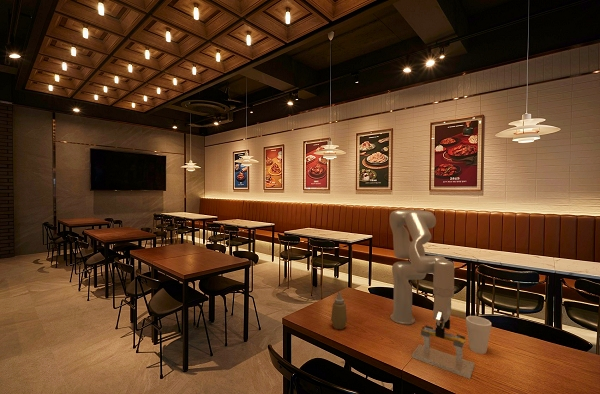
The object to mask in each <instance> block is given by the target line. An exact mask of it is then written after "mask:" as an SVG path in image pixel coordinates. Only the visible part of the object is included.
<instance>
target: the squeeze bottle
mask: <svg viewBox="0 0 600 394" xmlns="http://www.w3.org/2000/svg"><path fill="white" fill-rule="evenodd" d="M330 320H331V322H332V323H331V324H332V326H333V328H334V329H336V330H344V329H345V328H346V324H347V323H348V316H347V307H346V303H345V299H344V298H343V297H342V293H341V291H338V292H337V297H335V298H334V302H333V303H332V310H331V319H330Z"/></svg>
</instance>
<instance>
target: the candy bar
mask: <svg viewBox="0 0 600 394" xmlns="http://www.w3.org/2000/svg"><path fill="white" fill-rule="evenodd" d="M425 326H426V325H424V326H421V328H420V332H421V331H425V332H428V333H429V335H431V336H433V337H436V336H435V329H434V328H433V329H430V328H425ZM436 338H439V339H442V340H446V341H449V342H453V341H458V342H461V343H465V344H466V341H467V340H468V338H467V339H466V338H465V339H462V338H460V337H458V336H457V335H453V334H451V333H447V332H445V338H444V339H443V338H440V337H436Z"/></svg>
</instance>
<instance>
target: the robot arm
mask: <svg viewBox="0 0 600 394" xmlns="http://www.w3.org/2000/svg"><path fill="white" fill-rule="evenodd" d="M388 219H389V226H390V228H391V232H392V239H393V254H394V257H395V258H396V259H400V260H409V261H396V262H394V263H393V264H392V267H391V271H392V278H393V280H392V281H393V311H392V313H391V314H390V316H389V317H390V319H391V321H393V322H395V323H397V324H400V325H413V324H414V323H416V318H415V317H414V316H413V287H412V285H411V283H410V282H409V281H411V280H413V281H414V280H423V279H425V278H426V276H427V274H433V278H432V279H433V281H432V283H433V284H432V285H433V286H432V287H433V289H432V290H433V292H432V293H433V295H434V300H433V311H432V314H433V315H432V319H433V320H435V329H434V330H435V336H436V338H438V337H440V338H439V339H442V338H443V339H442V340H445V339H444V338H445V333H446V331H445V329H446V330H450V329H451V314H452V298H453V297H454V296H455V263H454V262H452V261H450V260H448V259H446V258H445V257H444V256H442V255H426V250H425V247H424V245H425V244H427V243H429V242H430V241H431V240H432V234H431V232H430V229H432V228H434V227H435V226H436V225H437V219H436V216H435V214H434V213H433V212H431V211H428V210H423V209H422V210H421V209H397V210H394V211H391V213H390V214H389V218H388ZM405 226H406V227H405ZM410 237H411V239H412V240H410ZM435 336H434V337H435Z"/></svg>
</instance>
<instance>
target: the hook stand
mask: <svg viewBox="0 0 600 394" xmlns="http://www.w3.org/2000/svg"><path fill="white" fill-rule="evenodd" d="M424 326H425V328H430V329H433V330H434V326H430V325H424ZM431 336H432V335H429V333H428V332H425V331H421V330H420V337H422V338H423V345H422V344H421V343H420V344H418V346H417V347H416V348H415V350H414V351H413V352H412V354H411V357H412V359H416V360H418V361H420V362H422V363H425V364H428V365H431V366H434V367H437V368H439V369H442V370H444V371H447V372H450V373H453V374H455V375H458V376H461V377H462V378H463V377H464V378H466V379H468V380H471V379H472V378H471V377H472V374H473V372H474V368H475V362H474V361H471V360H468V359H465V358H463V357H464V356H463V354H464V353H463V352H464V351H463V350H464V349H463V348H464V346H465V344H466V342H465V343H461V342H458V341H453V344H452V345H453V348H455V355H453V354H450V353H447V352H444V351H441V350H438V349H435V348H432V347H431ZM456 336H458V337H460V338H462V339H466V336H465V335H462V334H458V333H456Z"/></svg>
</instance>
